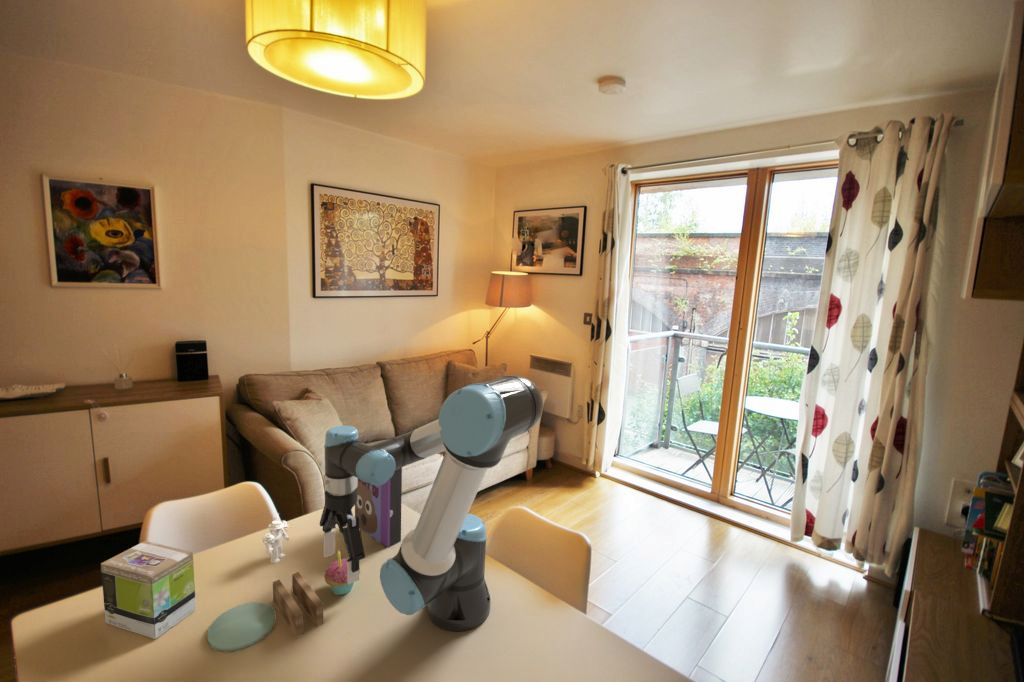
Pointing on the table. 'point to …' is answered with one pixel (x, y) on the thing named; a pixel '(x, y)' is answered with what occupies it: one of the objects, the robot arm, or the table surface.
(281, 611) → the rail
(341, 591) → the cupcake
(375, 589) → the table surface
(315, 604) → the brown flat block
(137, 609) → the tea box
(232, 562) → the table surface
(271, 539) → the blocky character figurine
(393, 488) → the cereal box
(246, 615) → the plate
